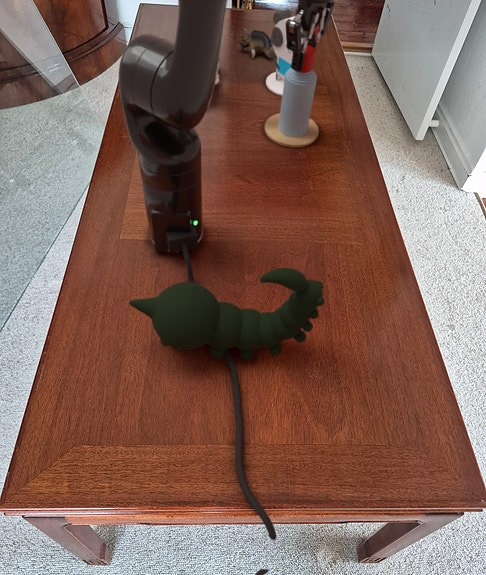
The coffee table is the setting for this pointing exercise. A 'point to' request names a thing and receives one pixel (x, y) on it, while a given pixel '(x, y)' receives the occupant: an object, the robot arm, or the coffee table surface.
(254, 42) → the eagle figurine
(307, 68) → the bottle cap
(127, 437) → the coffee table surface
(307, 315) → the toy figurine
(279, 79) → the panda figurine
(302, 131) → the bottle
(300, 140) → the coaster
